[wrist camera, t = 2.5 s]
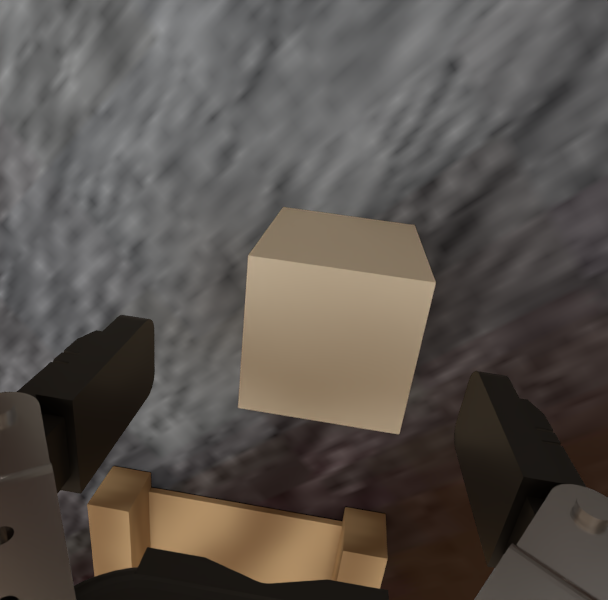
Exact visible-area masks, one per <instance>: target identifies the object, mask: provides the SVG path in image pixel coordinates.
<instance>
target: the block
mask: <svg viewBox="0 0 608 600" xmlns="http://www.w3.org/2000/svg"><path fill="white" fill-rule="evenodd" d="M435 284H436V282H435V279H434V276H433V273H432V271H431V268H430V265H429V263H428V260H427V257H426V255H425V252H424V249H423V246H422V244H421V241H420V238H419V236H418V233H417V230H416V227H415V225H410V224H403V223H396V222H388V221H381V220H374V219H367V218H360V217H352V216H345V215H338V214H331V213H323V212H316V211H309V210H302V209H294V208H287V207H283V208H282V209H281V211H280V212H279V213H278V215H277V216H276V218H275V219H274V220H273V222H272V223H271V224H270V226H269V227H268V229H267V230H266V231H265V233H264V234H263V236H262V237H261V238H260V240H259V241H258V243H257V244H256V245H255V247H254V248H253V250H252V251H251V252H250V254H249V255H248V267H247V282H246V297H245V312H244V327H243V342H242V357H241V372H240V387H239V402H238V408H242V409H249V410H255V411H261V412H267V413H273V414H279V415H285V416H291V417H297V418H303V419H309V420H315V421H321V422H327V423H333V424H339V425H345V426H351V427H357V428H363V429H369V430H375V431H381V432H387V433H393V434H400V429H401V425H402V421H403V417H404V413H405V409H406V405H407V400H408V396H409V392H410V388H411V384H412V380H413V376H414V371H415V367H416V363H417V359H418V355H419V351H420V347H421V342H422V338H423V334H424V330H425V326H426V322H427V317H428V313H429V309H430V305H431V301H432V297H433V293H434V288H435Z"/></svg>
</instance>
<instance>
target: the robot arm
mask: <svg viewBox="0 0 608 600" xmlns="http://www.w3.org/2000/svg"><path fill="white" fill-rule="evenodd" d="M154 372H155V367H154V324H153V321H152V320H151V319H145V318H139V317H132V316H126V315H120V316H119V317H117V318H116V319H115V320H114V321H113V322H112V323H111V324H110V325H109V326H108V327H107V328H106V329H105V330H104V331H97V330H96V331H94V332H92V333H90V334H87V335H85V336H83V337H81V338H78V339H77V340H75V341H74V342H73V343H72V344H71V345H70V346H69V347H67V348H66V349H65V350H64V353H61V354H60V355H58V356H57V357H56V358H55V359H54V361H53V362H50V363H49V364H48V365H47V366H46V367H45V368H44V369H42V370H41V371H40V372H39V373H38V374H37V375H36V376H34V377H33V378H32V379H31V380H30V381H29V382H28V383H26V384H25V385H24V386H23V387H22V388H21V389H20V390H18V391H17V392H2V393H0V600H389V599H388V590H384V589H378V588H373V587H367V586H362V585H356V584H351V583H345V582H339V581H334V580H328V579H326V580H312V581H298V582H283V583H261V582H258V581H256V580H253V579H251V578H249V577H247V576H245V575H243V574H240V573H238V572H236V571H234V570H232V569H229V568H227V567H225V566H223V565H221V564H219V563H216V562H214V561H212V560H210V559H208V558H205V557H200V556H195V555H189V554H183V553H178V552H172V551H167V550H161V549H156V548H150V547H147V548H146V551H145V553H144V555H143V557H142V559H141V561H140V564H139V566H138V567H133V568H126V569H120V570H115V571H111V572H108V573H104V574H101V575H98V576H95V577H93V578H90V579H88V580H85V581H83V582H81V583H79V584H77V585H75V586H74V584H73V579H72V573H71V568H70V562H69V557H68V551H67V546H66V540H65V534H64V529H63V523H62V518H61V512H60V507H59V501H58V496H57V494H58V492H59V491H60V490H64V491H70V492H75V493H82V491H83V490H84V488H85V487H86V486H87V484H88V483H89V481H90V480H91V478H92V477H93V475H94V474H95V473H96V471H97V470H98V468H99V467H100V465H101V464H102V462H103V461H104V460H105V458H106V457H107V455H108V454H109V452H110V451H111V449H112V448H113V446H114V445H115V444H116V442H117V441H118V439H119V438H120V436H121V435H122V433H123V432H124V431H125V429H126V428H127V426H128V425H129V423H130V422H131V420H132V419H133V418H134V416H135V415H136V413H137V412H138V410H139V409H140V407H141V406H142V405H143V403H144V402H145V400H146V399H147V397H148V396H149V394H150V391H151V388H152V385H153V381H154ZM454 443H455V450H456V453H457V457H458V461H459V464H460V468H461V472H462V475H463V479H464V483H465V486H466V490H467V494H468V497H469V501H470V504H471V508H472V512H473V515H474V519H475V523H476V526H477V530H478V534H479V537H480V541H481V545H482V548H483V552H484V556H485V559H486V563H487V566H488V567H494V568H495V569H494V571H493V572H492V574H491V575H490V577H489V578H488V580H487V581H486V583H485V584H484V586H483V587H482V589H481V591H480V592H479V594H478V595H477V597H476V598H475V600H608V498H607V497H605V496H603V495H602V494H600V493H598V492H596V491H594V490H591V489H589V488H586V486H585V484H584V483H583V481H582V479H581V478H580V476H579V474H578V472H577V471H576V469H575V467H574V465H573V464H572V462H571V460H570V459H569V457H568V455H567V453H566V452H565V450H564V448H563V446H560V441H559V440H558V438H557V436H556V434H555V433H553V429H552V427H551V426H550V424H549V422H548V421H547V419H546V417H545V415H544V414H543V413H542V412H541V411H539V410H538V409H537V408H536V407H535V406H534V405H533V404H532V403H531V402H529V401H528V400H526V399H519V397H518V395H517V393H516V391H515V389H514V387H513V385H512V383H511V382H510V380H509V378H508V377H507V376H503V375H497V374H491V373H484V372H478V371H475V372H473V373H472V375H471V377H470V380H469V383H468V386H467V389H466V392H465V396H464V399H463V402H462V405H461V409H460V412H459V415H458V418H457V422H456V426H455V433H454Z"/></svg>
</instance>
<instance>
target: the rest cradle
mask: <svg viewBox="0 0 608 600" xmlns="http://www.w3.org/2000/svg"><path fill="white" fill-rule="evenodd" d="M87 506H88V516H89V525H90V535H91V545H92V555H93V565H94V574H95V576H98V575H101V574H104V573H108V572H111V571H115V570H120V569H126V568H133V567H138V566H139V564H140V561H141V559H142V557H143V555H144V553H145V551H146V548H147V547H150V548H156V549H161V550H167V551H172V552H178V553H183V554H189V555H195V556H200V557H205V558H208V559H210V560H212V561H214V562H216V563H219V564H221V565H223V566H225V567H227V568H229V569H232V570H234V571H236V572H238V573H240V574H243V575H245V576H247V577H249V578H251V579H253V580H256V581H258V582H261V583H283V582H298V581H312V580H326V579H328V580H334V581H339V582H345V583H351V584H356V585H362V586H367V587H373V588H378V589H380V586H381V582H382V578H383V574H384V571H385V567H386V563H387V559H388V557H387V536H386V514H382V513H377V512H371V511H365V510H360V509H354V508H348V507H345V511H344V516H343V521H337V520H332V519H326V518H320V517H315V516H309V515H304V514H298V513H292V512H287V511H281V510H276V509H270V508H264V507H259V506H253V505H247V504H242V503H236V502H231V501H225V500H219V499H214V498H208V497H202V496H197V495H191V494H186V493H180V492H174V491H169V490H163V489H158V488H152V487H151V473H150V472H144V471H138V470H133V469H127V468H121V467H115V466H113V467H112V468H111V470H110V471H109V473H108V474H107V476H106V477H105V479H104V480H103V482H102V483H101V485H100V486H99V488H98V489H97V491H96V492H95V494H94V495H93V497H92V498H91V500H90V501H89V503H88V504H87Z"/></svg>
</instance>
